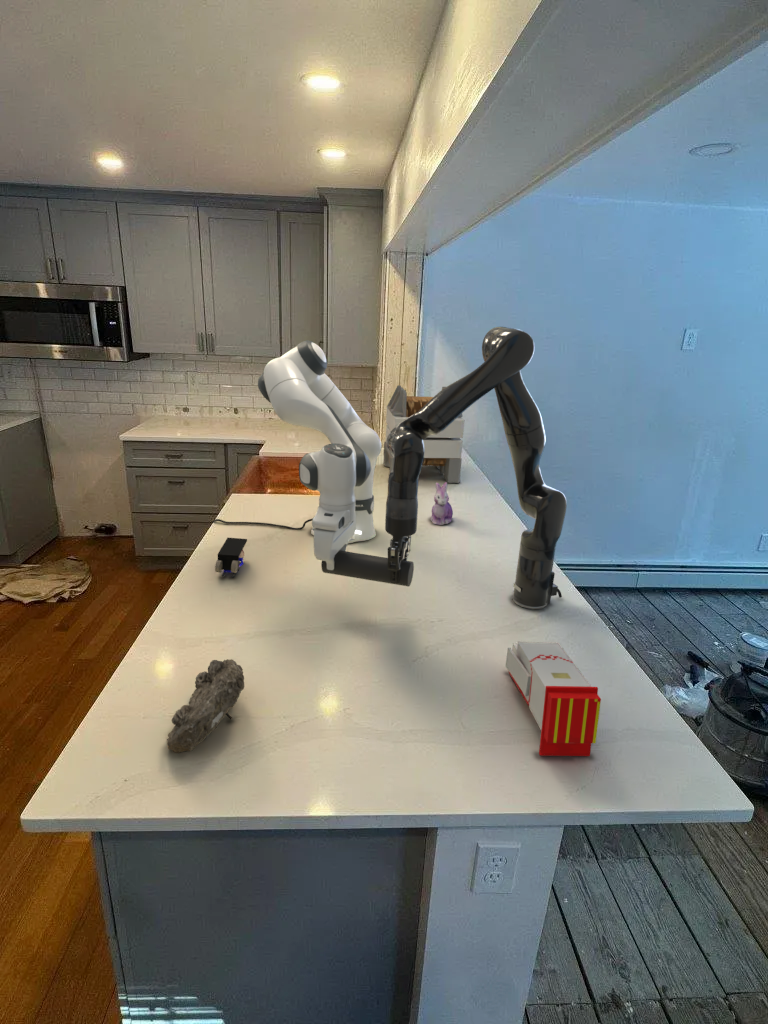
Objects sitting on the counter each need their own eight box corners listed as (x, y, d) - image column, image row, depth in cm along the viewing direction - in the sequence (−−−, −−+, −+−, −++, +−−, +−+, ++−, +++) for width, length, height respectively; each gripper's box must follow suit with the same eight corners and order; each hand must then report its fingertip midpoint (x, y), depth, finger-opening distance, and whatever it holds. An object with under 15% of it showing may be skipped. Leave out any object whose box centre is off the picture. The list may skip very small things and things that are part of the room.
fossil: (192, 660, 117) (244, 628, 112) (224, 691, 120) (276, 661, 115) (142, 746, 98) (202, 712, 93) (182, 779, 101) (242, 748, 96)
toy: (554, 624, 127) (610, 694, 97) (548, 679, 130) (602, 763, 100) (500, 623, 126) (541, 693, 97) (496, 678, 129) (534, 763, 100)
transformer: (382, 463, 289) (386, 382, 275) (445, 464, 293) (451, 384, 279) (390, 482, 257) (394, 392, 243) (460, 483, 261) (468, 394, 247)
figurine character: (238, 584, 162) (249, 557, 175) (236, 562, 158) (247, 536, 172) (215, 584, 161) (227, 556, 175) (212, 561, 158) (225, 535, 171)
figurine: (438, 527, 207) (441, 488, 202) (423, 518, 216) (426, 480, 211) (459, 523, 211) (463, 485, 206) (444, 514, 220) (447, 477, 215)
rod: (321, 576, 142) (321, 554, 140) (330, 566, 147) (330, 545, 145) (407, 590, 136) (408, 567, 134) (413, 580, 142) (414, 557, 140)
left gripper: (339, 497, 148) (338, 545, 153) (308, 523, 130) (308, 577, 135) (362, 500, 147) (361, 549, 152) (334, 527, 128) (333, 582, 133)
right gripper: (409, 525, 126) (406, 592, 132) (423, 505, 139) (419, 567, 145) (377, 520, 128) (375, 587, 134) (394, 501, 141) (391, 562, 147)
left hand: (336, 562), depth 143 cm, fingers closed on rod, 6 cm apart
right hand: (398, 576), depth 139 cm, fingers closed on rod, 6 cm apart
